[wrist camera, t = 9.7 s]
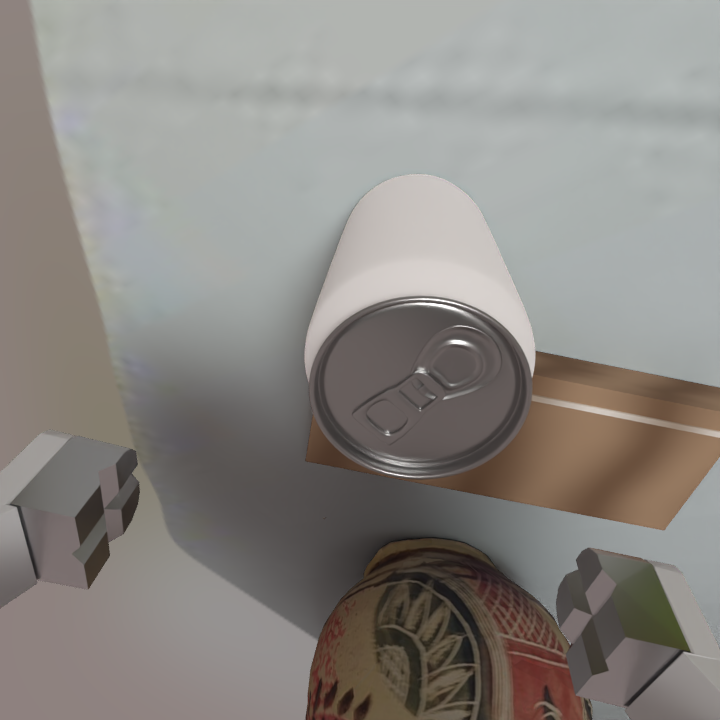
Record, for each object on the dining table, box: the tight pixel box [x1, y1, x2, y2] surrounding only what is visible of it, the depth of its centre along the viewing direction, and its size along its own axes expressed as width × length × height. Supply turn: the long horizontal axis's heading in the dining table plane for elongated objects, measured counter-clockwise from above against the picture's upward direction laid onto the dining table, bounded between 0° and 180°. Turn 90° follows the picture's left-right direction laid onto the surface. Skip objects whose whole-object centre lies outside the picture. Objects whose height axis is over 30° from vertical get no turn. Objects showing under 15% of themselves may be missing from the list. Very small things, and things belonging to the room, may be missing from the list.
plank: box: [305, 351, 720, 530], centre depth 26 cm, size 20×8×2 cm, turn 80°
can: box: [305, 174, 535, 480], centre depth 18 cm, size 6×6×12 cm
